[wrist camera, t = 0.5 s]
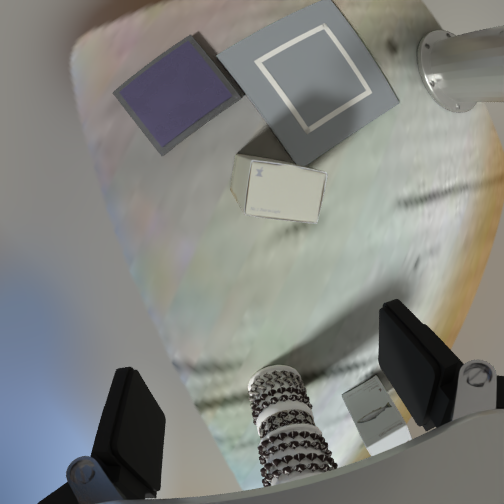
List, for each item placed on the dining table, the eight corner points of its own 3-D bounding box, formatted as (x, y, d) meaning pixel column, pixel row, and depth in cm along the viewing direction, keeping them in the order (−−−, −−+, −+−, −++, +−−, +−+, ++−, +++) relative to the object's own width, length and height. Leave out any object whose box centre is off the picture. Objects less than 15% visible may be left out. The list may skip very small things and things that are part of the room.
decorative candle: (308, 391, 47) (358, 521, 24) (255, 409, 47) (284, 543, 24) (296, 354, 44) (354, 503, 21) (236, 374, 44) (261, 530, 21)
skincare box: (229, 190, 35) (239, 216, 23) (235, 151, 33) (248, 157, 22) (283, 198, 36) (318, 227, 24) (290, 160, 34) (329, 172, 23)
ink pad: (191, 37, 28) (190, 32, 26) (240, 99, 31) (242, 97, 29) (115, 94, 29) (110, 92, 27) (163, 155, 32) (160, 156, 31)
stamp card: (326, -1, 27) (328, -3, 27) (397, 103, 33) (399, 103, 32) (216, 56, 29) (216, 55, 28) (298, 169, 35) (300, 169, 34)
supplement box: (376, 373, 48) (408, 423, 37) (385, 393, 51) (413, 440, 39) (339, 394, 49) (365, 448, 37) (351, 413, 52) (375, 462, 40)
